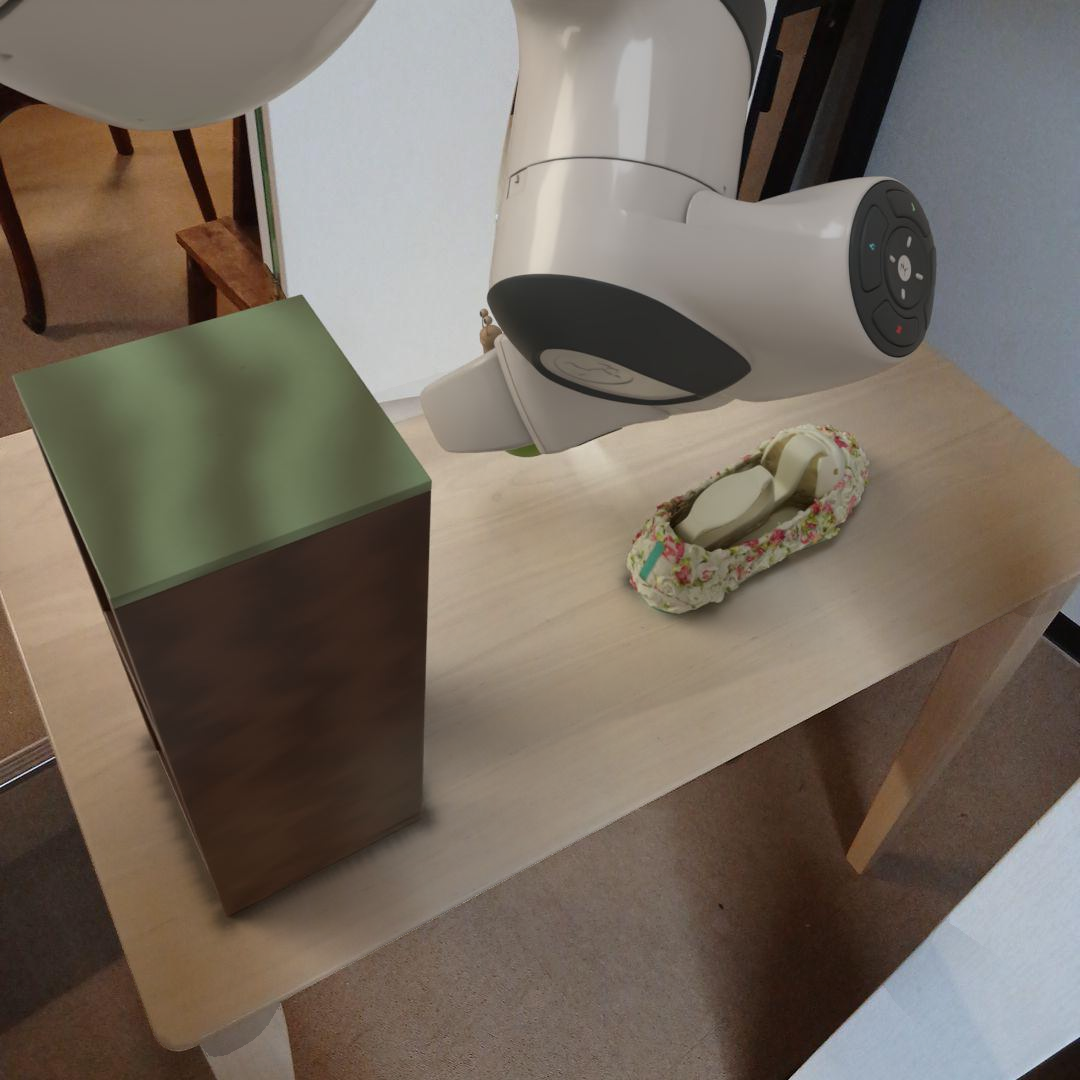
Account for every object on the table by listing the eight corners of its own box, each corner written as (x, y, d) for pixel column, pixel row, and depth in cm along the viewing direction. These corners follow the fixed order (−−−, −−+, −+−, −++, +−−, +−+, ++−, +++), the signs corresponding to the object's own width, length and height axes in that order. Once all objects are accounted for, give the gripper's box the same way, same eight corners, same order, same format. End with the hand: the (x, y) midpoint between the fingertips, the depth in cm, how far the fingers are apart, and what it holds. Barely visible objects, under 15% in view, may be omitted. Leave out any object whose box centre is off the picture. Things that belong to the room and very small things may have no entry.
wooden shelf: (226, 917, 59) (109, 599, 35) (153, 744, 64) (11, 374, 41) (422, 818, 63) (432, 479, 40) (336, 665, 69) (302, 293, 46)
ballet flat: (896, 490, 84) (935, 419, 78) (695, 665, 72) (722, 596, 66) (802, 424, 88) (832, 351, 82) (596, 579, 76) (613, 507, 70)
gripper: (767, 212, 60) (620, 265, 71) (479, 346, 50) (364, 382, 62) (803, 318, 61) (653, 353, 73) (531, 469, 52) (409, 481, 63)
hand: (519, 367), depth 67 cm, fingers closed on snail figurine, 5 cm apart
